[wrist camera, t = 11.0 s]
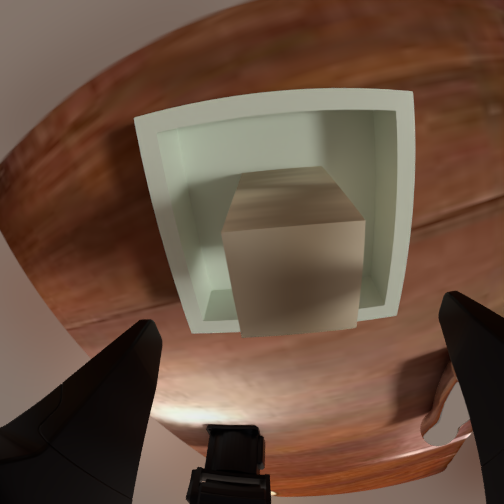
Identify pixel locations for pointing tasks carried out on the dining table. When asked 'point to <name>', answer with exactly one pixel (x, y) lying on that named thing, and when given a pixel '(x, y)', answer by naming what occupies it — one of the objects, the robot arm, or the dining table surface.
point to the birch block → (293, 253)
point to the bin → (272, 158)
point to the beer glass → (445, 411)
